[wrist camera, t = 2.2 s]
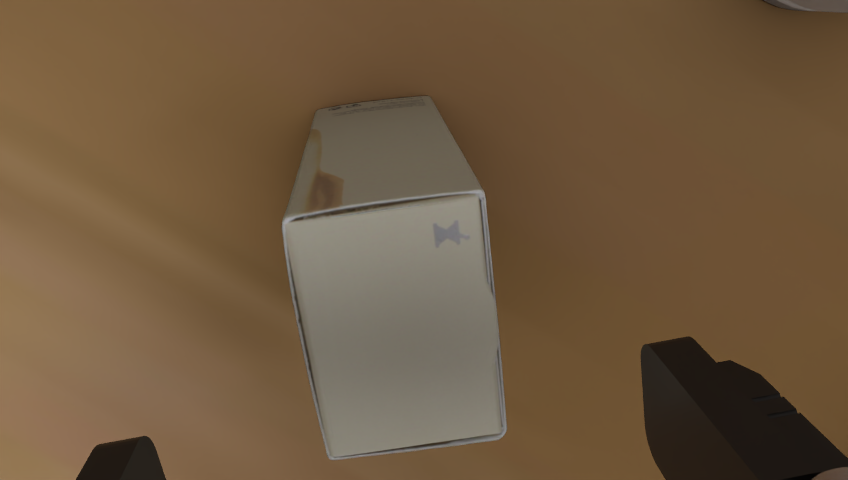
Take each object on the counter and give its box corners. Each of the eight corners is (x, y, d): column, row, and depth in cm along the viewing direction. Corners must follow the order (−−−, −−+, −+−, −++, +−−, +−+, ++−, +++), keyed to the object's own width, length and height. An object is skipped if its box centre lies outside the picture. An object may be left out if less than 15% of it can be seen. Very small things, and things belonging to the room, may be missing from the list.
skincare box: (312, 107, 26) (269, 200, 14) (433, 92, 26) (487, 172, 14) (339, 274, 28) (322, 472, 16) (451, 258, 28) (511, 444, 17)
